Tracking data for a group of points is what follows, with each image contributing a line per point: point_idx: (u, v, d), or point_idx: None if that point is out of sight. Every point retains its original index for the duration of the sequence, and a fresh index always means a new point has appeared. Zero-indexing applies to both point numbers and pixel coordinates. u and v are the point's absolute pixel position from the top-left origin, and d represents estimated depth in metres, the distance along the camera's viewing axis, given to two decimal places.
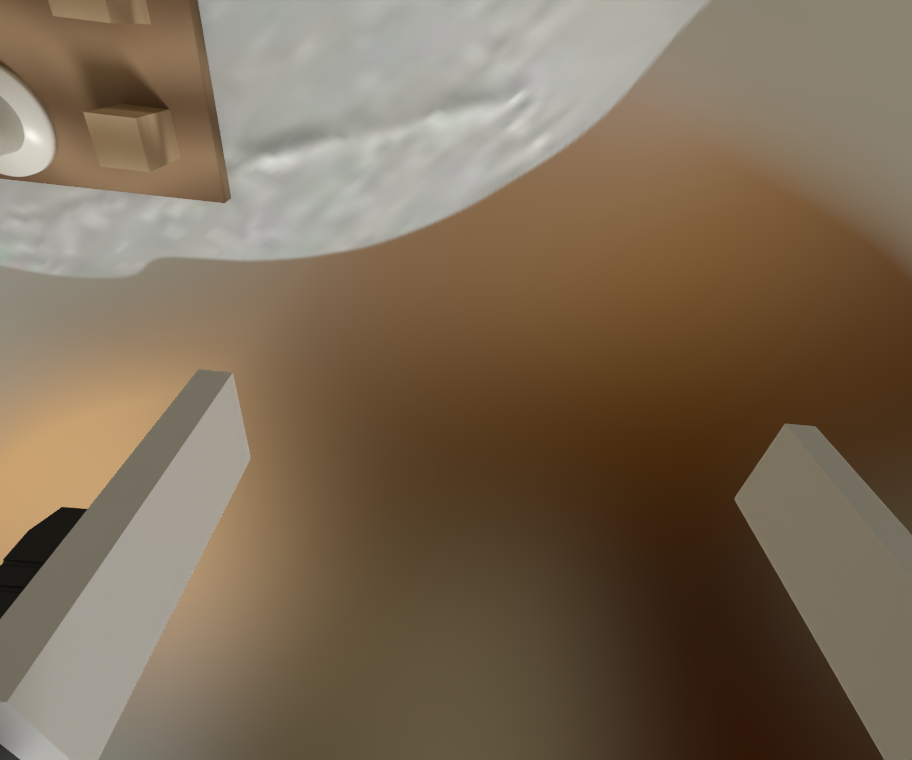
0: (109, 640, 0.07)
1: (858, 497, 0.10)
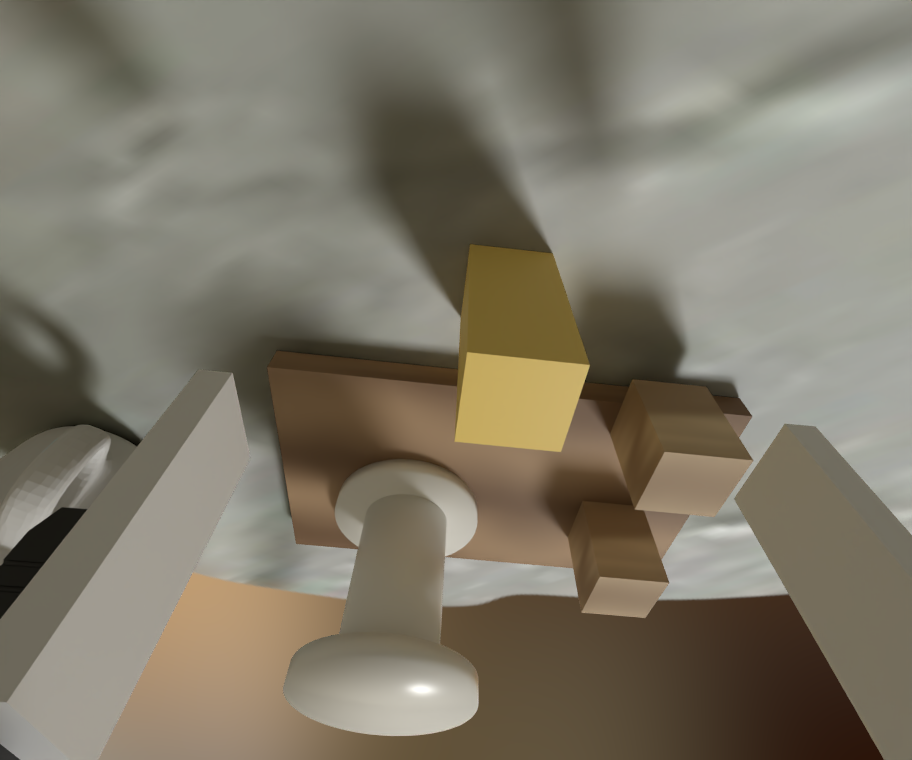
0: (109, 640, 0.07)
1: (858, 497, 0.10)
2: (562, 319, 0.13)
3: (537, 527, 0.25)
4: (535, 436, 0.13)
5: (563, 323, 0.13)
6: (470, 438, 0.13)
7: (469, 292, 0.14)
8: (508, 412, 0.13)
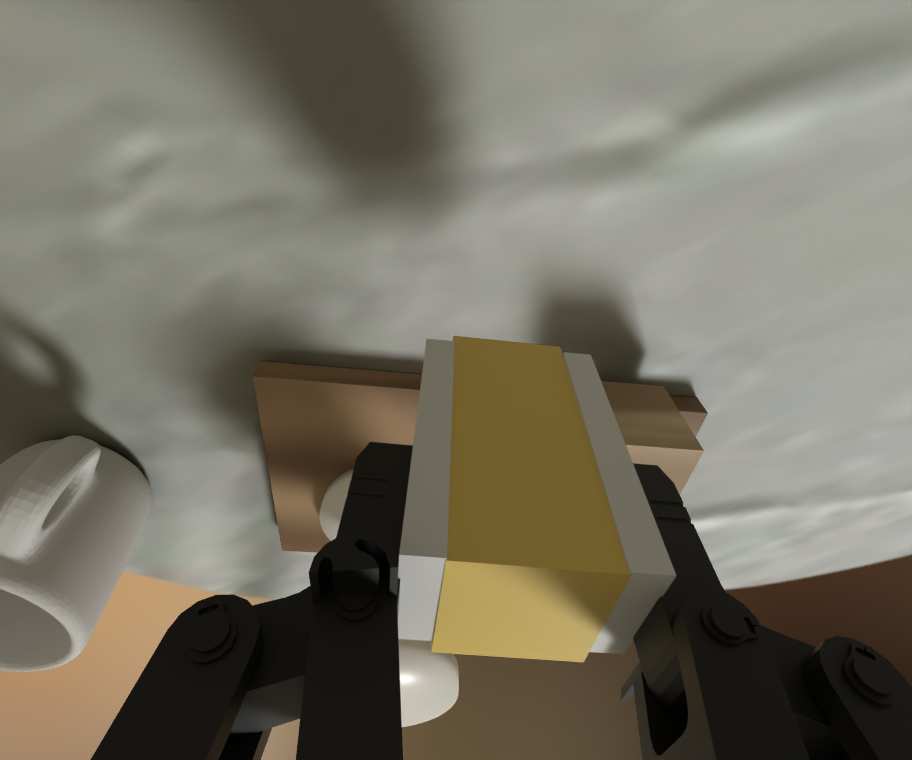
0: None
1: (592, 404, 0.11)
2: (582, 474, 0.09)
3: None
4: (547, 647, 0.09)
5: (585, 482, 0.09)
6: (454, 648, 0.09)
7: None
8: (508, 623, 0.09)
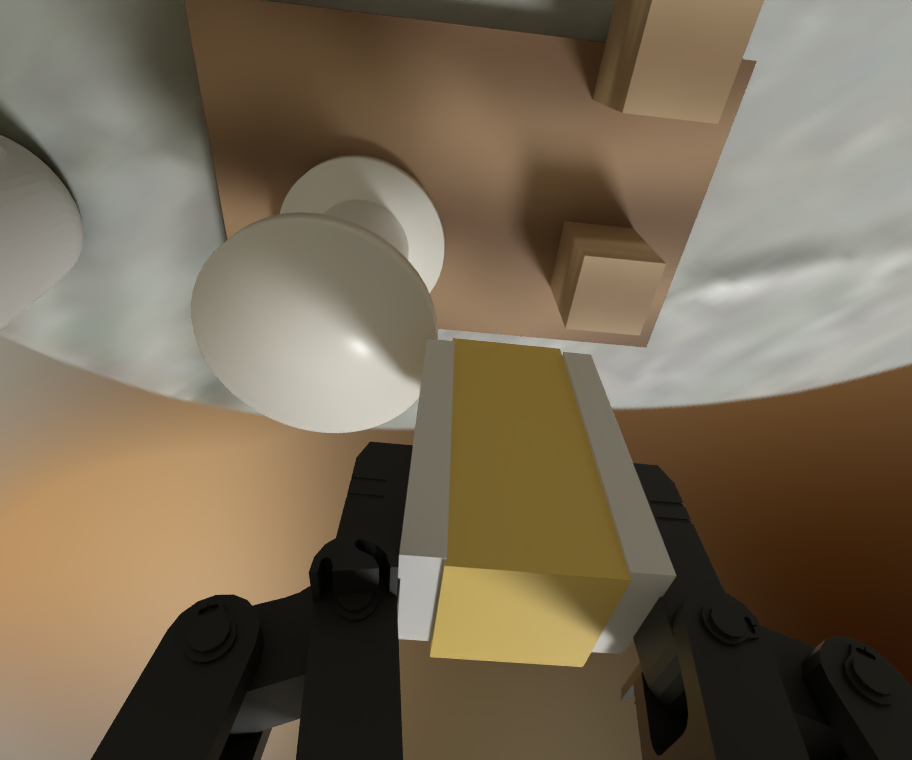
0: None
1: (592, 404, 0.11)
2: (581, 478, 0.09)
3: (514, 270, 0.22)
4: (546, 652, 0.09)
5: (584, 486, 0.09)
6: (453, 654, 0.09)
7: None
8: (507, 628, 0.09)
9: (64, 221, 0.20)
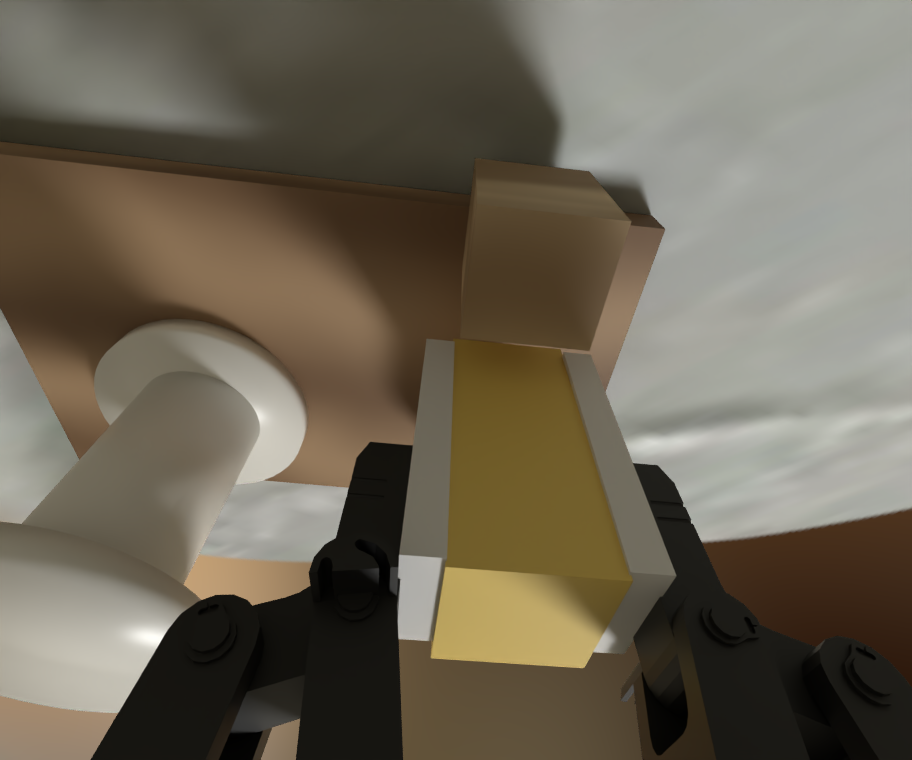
0: None
1: (592, 404, 0.11)
2: (583, 479, 0.09)
3: (396, 432, 0.18)
4: (548, 653, 0.09)
5: (585, 486, 0.09)
6: (453, 654, 0.09)
7: None
8: (508, 629, 0.09)
9: None
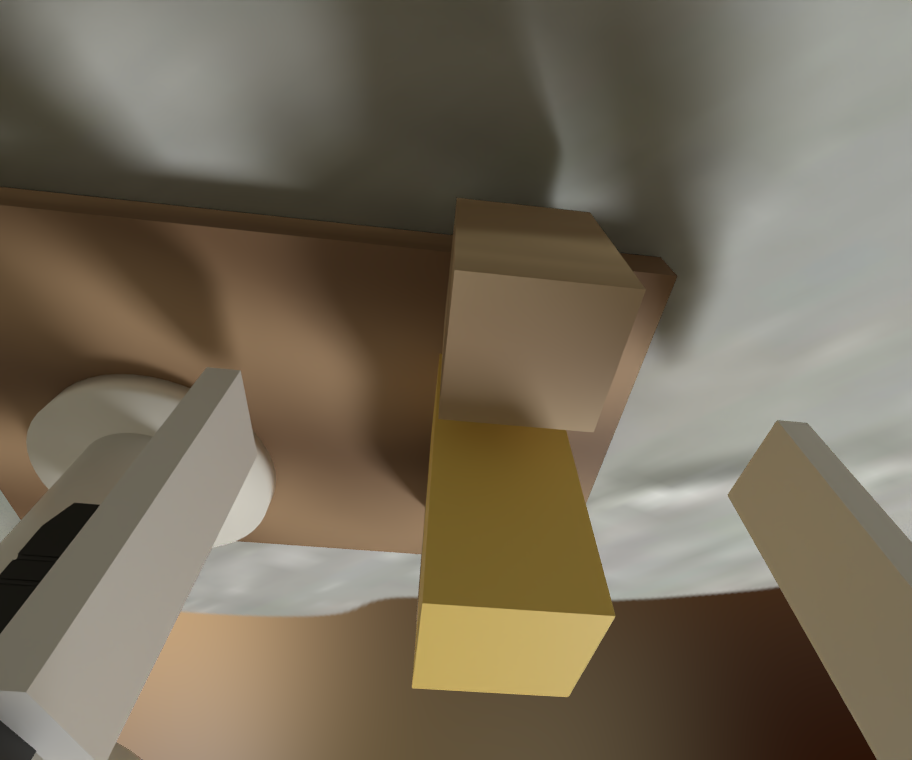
0: (122, 633, 0.07)
1: (848, 492, 0.10)
2: (567, 505, 0.09)
3: (374, 491, 0.16)
4: (531, 683, 0.09)
5: (569, 513, 0.09)
6: (435, 685, 0.09)
7: (433, 453, 0.10)
8: (489, 662, 0.08)
9: None
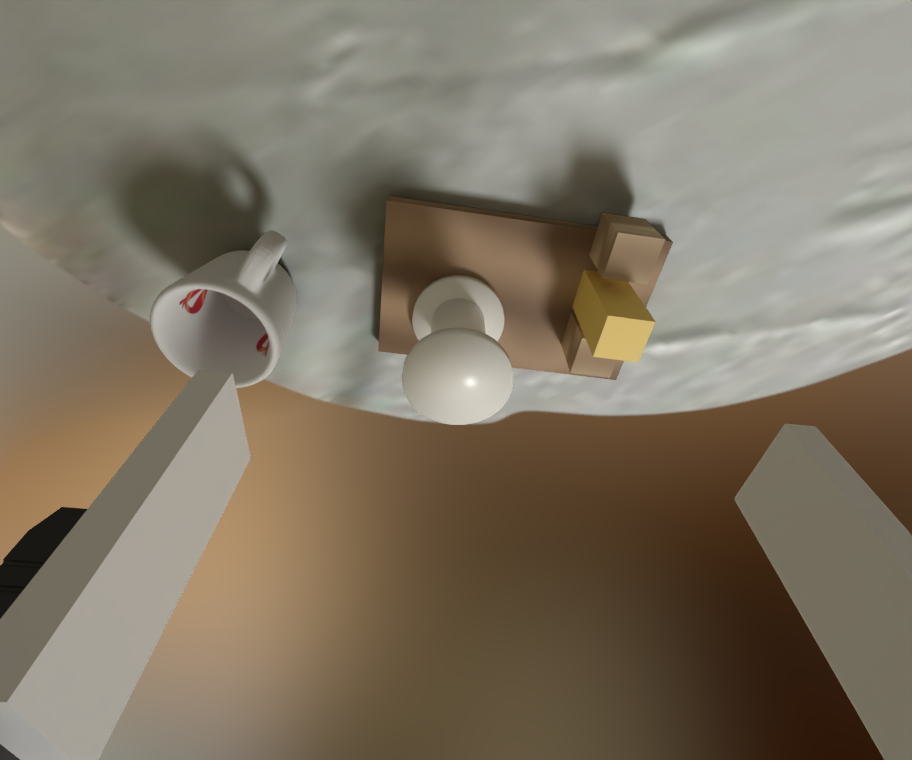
0: (109, 640, 0.07)
1: (858, 497, 0.10)
2: (639, 305, 0.31)
3: (541, 335, 0.38)
4: (628, 354, 0.30)
5: (640, 306, 0.31)
6: (600, 355, 0.31)
7: (596, 292, 0.32)
8: (618, 342, 0.30)
9: (295, 302, 0.35)
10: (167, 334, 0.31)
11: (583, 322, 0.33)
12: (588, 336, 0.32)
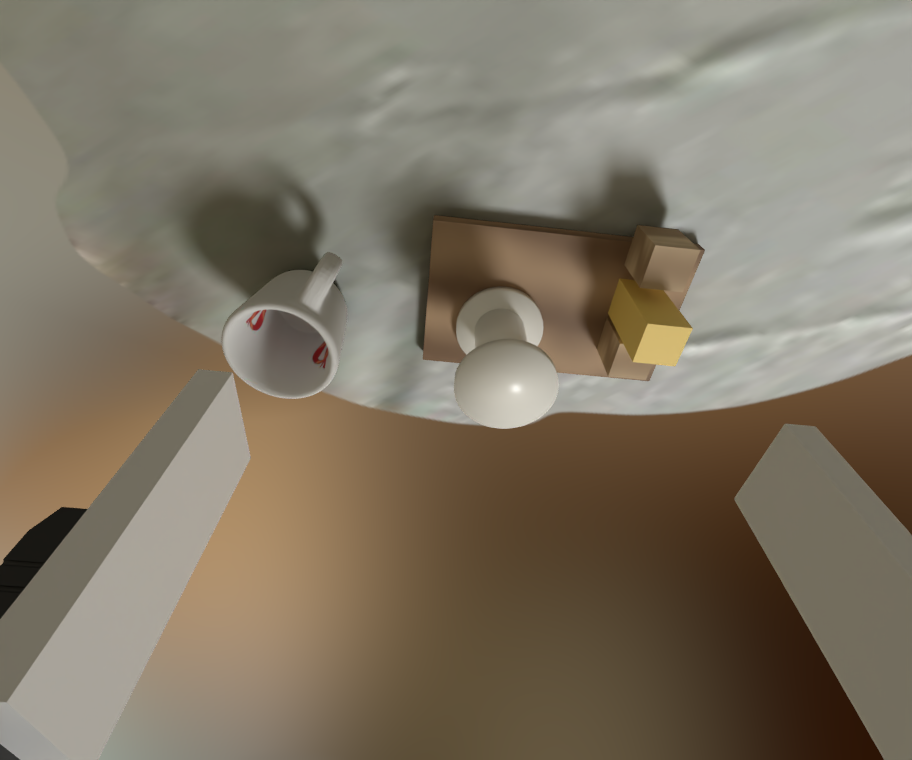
0: (109, 640, 0.07)
1: (858, 497, 0.10)
2: (675, 312, 0.33)
3: (578, 340, 0.40)
4: (666, 359, 0.32)
5: (676, 313, 0.32)
6: (639, 360, 0.32)
7: (633, 301, 0.33)
8: (657, 348, 0.32)
9: (346, 316, 0.38)
10: (235, 351, 0.33)
11: (620, 329, 0.35)
12: (626, 342, 0.34)
